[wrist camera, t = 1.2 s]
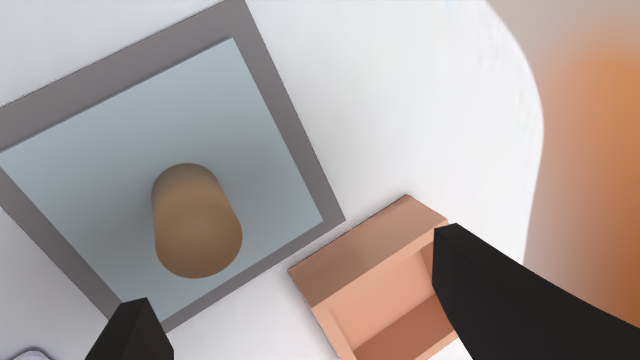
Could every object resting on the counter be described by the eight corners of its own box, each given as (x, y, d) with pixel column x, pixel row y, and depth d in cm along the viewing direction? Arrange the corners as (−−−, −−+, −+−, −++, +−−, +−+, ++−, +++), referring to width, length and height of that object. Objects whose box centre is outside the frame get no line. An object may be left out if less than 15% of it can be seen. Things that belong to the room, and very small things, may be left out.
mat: (138, 345, 20) (138, 350, 20) (-59, 136, 15) (-64, 139, 14) (342, 217, 22) (346, 220, 22) (239, -7, 17) (241, -7, 16)
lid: (147, 319, 19) (150, 406, 15) (-1, 151, 15) (-61, 204, 11) (317, 214, 21) (365, 264, 17) (228, 37, 17) (261, 40, 12)
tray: (340, 360, 26) (367, 404, 23) (287, 270, 22) (310, 308, 19) (440, 289, 27) (478, 321, 24) (407, 194, 24) (446, 218, 21)
